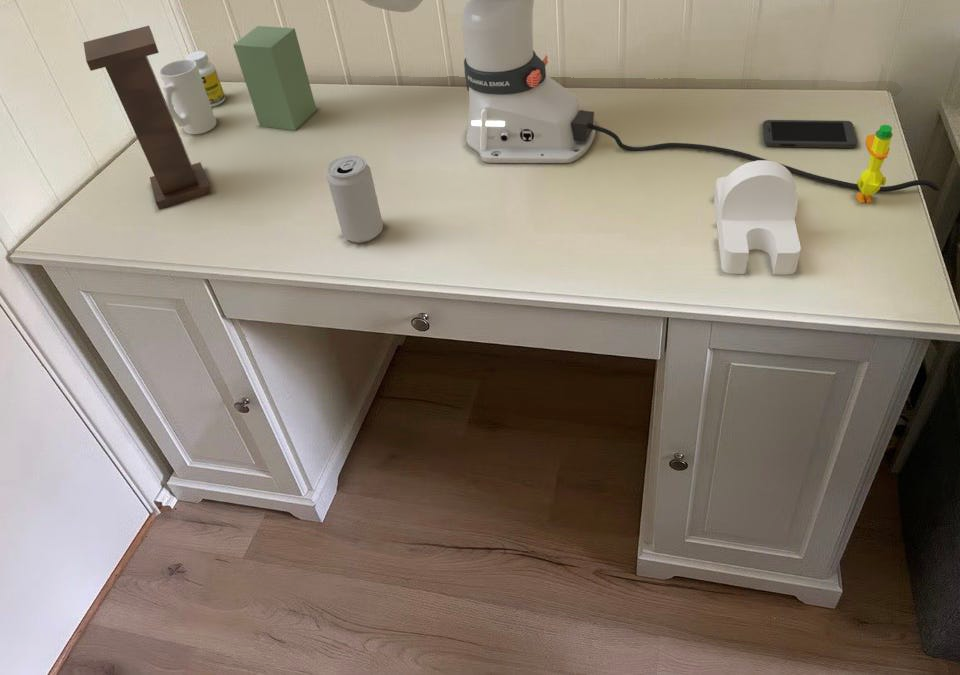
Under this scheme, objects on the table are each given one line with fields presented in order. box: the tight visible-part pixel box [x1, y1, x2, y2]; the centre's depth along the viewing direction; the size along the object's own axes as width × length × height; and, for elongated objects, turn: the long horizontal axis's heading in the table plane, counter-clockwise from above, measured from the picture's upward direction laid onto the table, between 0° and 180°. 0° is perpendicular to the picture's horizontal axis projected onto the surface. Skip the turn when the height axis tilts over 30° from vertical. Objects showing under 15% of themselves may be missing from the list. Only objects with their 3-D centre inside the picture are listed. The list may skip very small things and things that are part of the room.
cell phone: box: [762, 119, 858, 149], centre depth 127 cm, size 7×14×1 cm, turn 78°
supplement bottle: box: [185, 50, 226, 108], centre depth 156 cm, size 5×5×10 cm
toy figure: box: [855, 124, 893, 204], centre depth 110 cm, size 7×4×12 cm, turn 176°
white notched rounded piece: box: [713, 159, 802, 276], centre depth 107 cm, size 10×18×11 cm, turn 171°
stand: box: [82, 25, 212, 210], centre depth 127 cm, size 10×9×26 cm
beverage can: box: [326, 155, 384, 244], centre depth 117 cm, size 6×6×12 cm
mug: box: [158, 58, 217, 135], centre depth 147 cm, size 10×7×12 cm, turn 165°
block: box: [233, 25, 317, 131], centre depth 145 cm, size 8×8×16 cm
